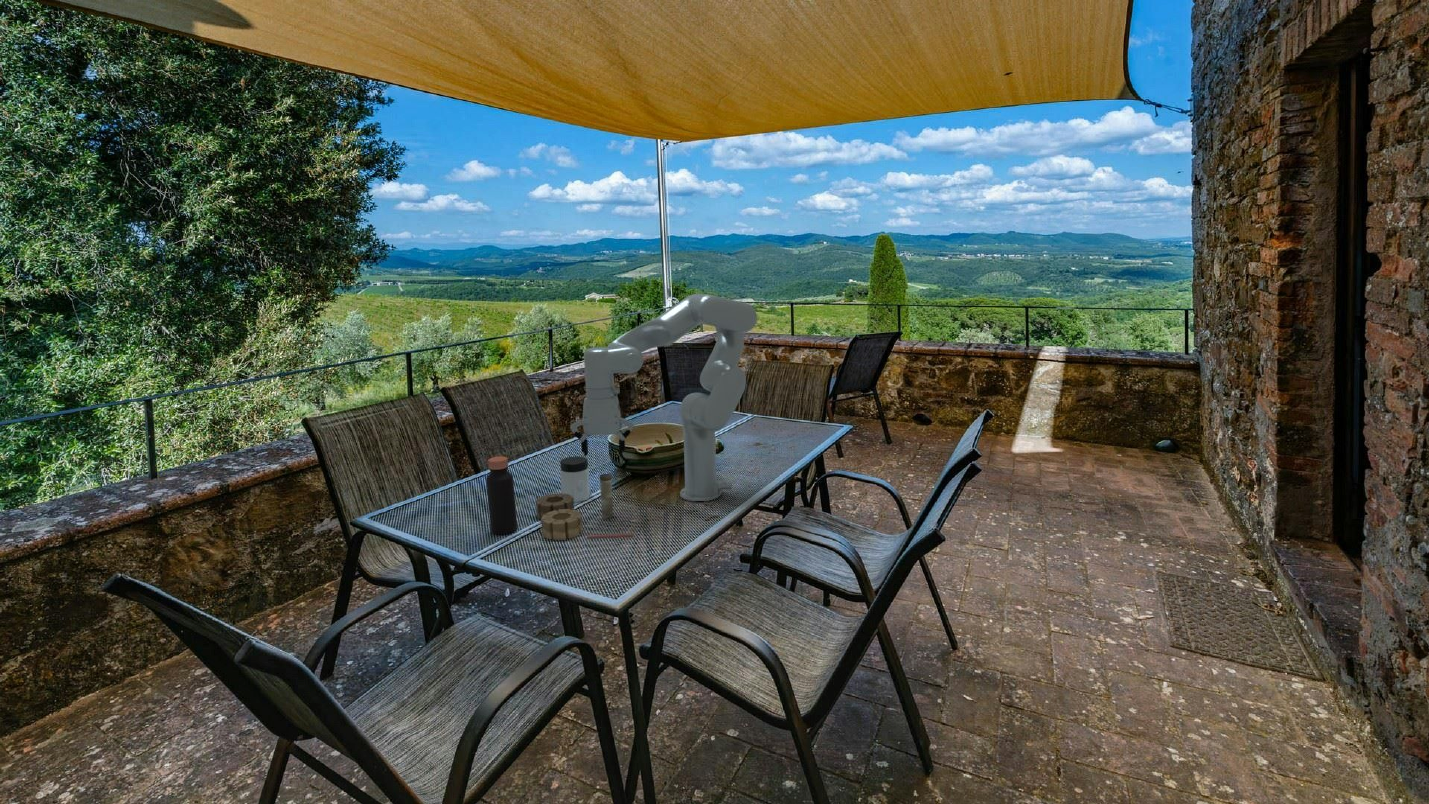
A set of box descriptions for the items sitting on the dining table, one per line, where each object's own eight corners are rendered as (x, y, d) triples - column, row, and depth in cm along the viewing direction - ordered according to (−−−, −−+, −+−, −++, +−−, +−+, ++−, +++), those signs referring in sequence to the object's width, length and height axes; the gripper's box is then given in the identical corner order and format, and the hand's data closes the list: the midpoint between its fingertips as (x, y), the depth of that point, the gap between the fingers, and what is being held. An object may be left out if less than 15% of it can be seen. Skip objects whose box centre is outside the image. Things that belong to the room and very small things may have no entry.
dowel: (614, 513, 186) (611, 473, 183) (613, 518, 183) (610, 477, 180) (602, 514, 185) (600, 474, 183) (601, 518, 182) (599, 477, 180)
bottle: (492, 537, 171) (485, 464, 167) (489, 528, 177) (483, 457, 173) (519, 532, 174) (512, 460, 170) (515, 523, 180) (509, 454, 176)
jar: (567, 505, 193) (564, 466, 191) (557, 497, 200) (554, 459, 197) (595, 498, 198) (593, 460, 195) (584, 491, 205) (582, 454, 202)
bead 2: (584, 523, 179) (583, 508, 178) (579, 539, 169) (578, 522, 168) (547, 525, 178) (545, 510, 177) (540, 540, 168) (538, 524, 167)
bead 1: (568, 505, 193) (567, 491, 192) (577, 517, 184) (576, 501, 183) (534, 511, 188) (533, 497, 187) (541, 523, 179) (540, 508, 178)
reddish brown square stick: (633, 535, 171) (633, 533, 171) (633, 536, 170) (633, 534, 170) (587, 537, 170) (587, 535, 170) (587, 538, 169) (586, 536, 169)
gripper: (633, 389, 181) (635, 449, 184) (570, 391, 180) (574, 451, 183) (631, 395, 173) (634, 456, 177) (565, 397, 173) (570, 459, 176)
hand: (603, 453), depth 180 cm, fingers open, 9 cm apart
